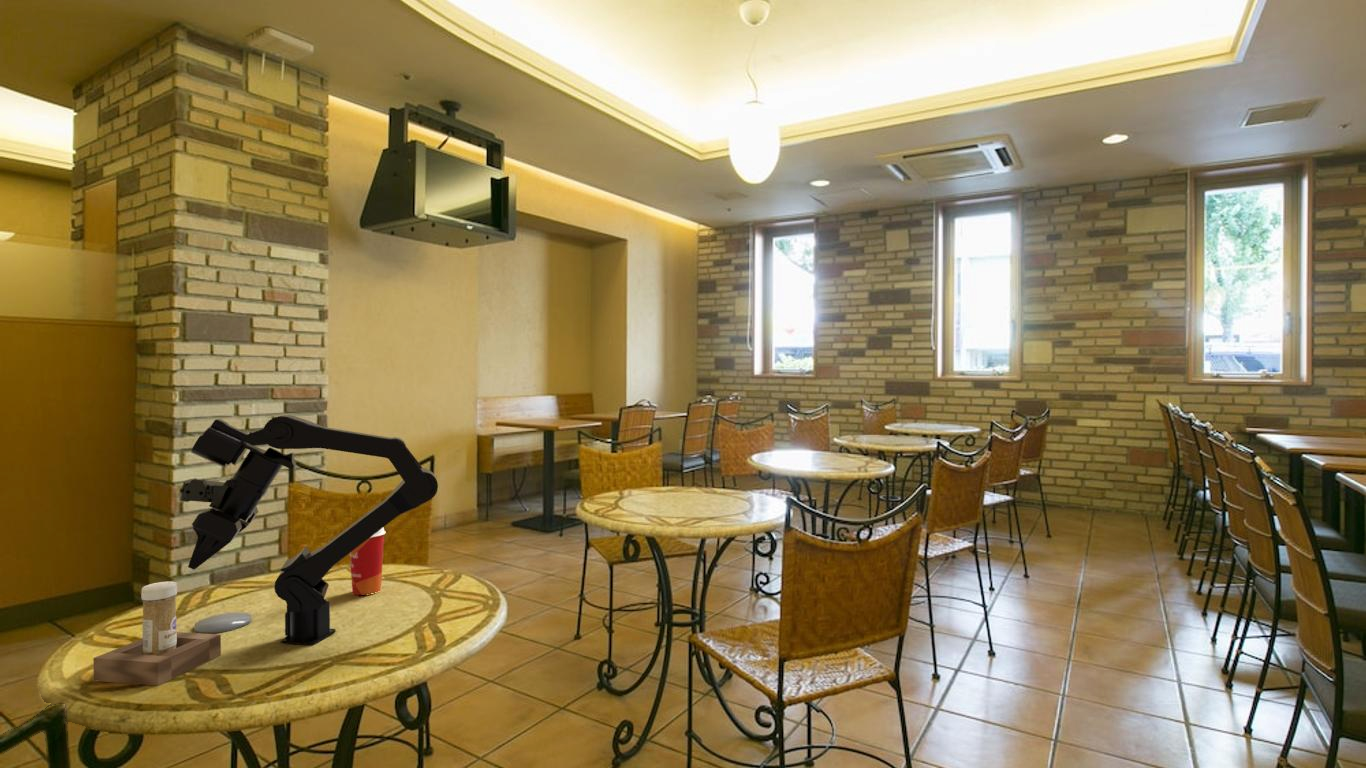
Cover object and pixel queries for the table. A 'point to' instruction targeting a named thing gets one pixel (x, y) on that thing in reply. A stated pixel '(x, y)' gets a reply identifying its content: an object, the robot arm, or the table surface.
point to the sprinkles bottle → (159, 618)
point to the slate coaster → (223, 622)
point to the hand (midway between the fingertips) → (198, 561)
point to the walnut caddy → (156, 660)
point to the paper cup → (367, 565)
